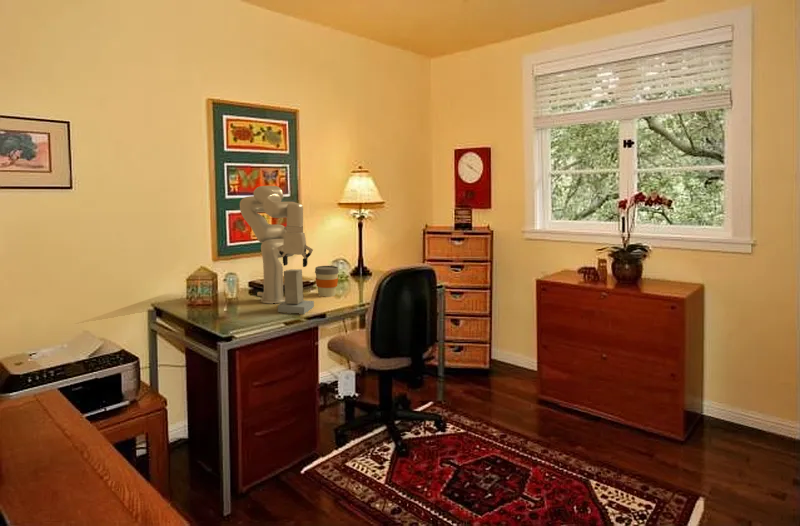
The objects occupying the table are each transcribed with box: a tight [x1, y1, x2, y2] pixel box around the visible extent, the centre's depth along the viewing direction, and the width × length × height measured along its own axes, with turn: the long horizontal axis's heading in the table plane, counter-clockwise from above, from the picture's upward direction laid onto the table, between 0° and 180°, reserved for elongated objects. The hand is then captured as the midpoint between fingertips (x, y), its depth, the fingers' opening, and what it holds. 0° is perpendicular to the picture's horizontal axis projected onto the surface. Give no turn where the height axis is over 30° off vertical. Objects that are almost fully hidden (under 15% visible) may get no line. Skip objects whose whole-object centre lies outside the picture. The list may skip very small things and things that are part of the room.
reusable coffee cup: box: [314, 265, 339, 298], centre depth 292 cm, size 13×13×15 cm
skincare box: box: [283, 268, 304, 304], centre depth 259 cm, size 8×7×16 cm
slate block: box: [277, 299, 315, 315], centre depth 260 cm, size 13×13×4 cm
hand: (295, 265), depth 257 cm, fingers open, 9 cm apart
